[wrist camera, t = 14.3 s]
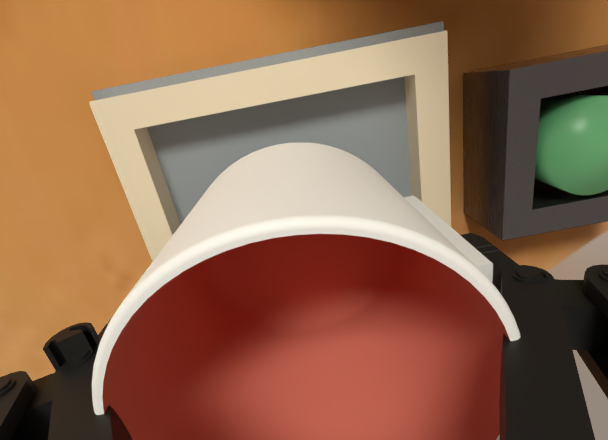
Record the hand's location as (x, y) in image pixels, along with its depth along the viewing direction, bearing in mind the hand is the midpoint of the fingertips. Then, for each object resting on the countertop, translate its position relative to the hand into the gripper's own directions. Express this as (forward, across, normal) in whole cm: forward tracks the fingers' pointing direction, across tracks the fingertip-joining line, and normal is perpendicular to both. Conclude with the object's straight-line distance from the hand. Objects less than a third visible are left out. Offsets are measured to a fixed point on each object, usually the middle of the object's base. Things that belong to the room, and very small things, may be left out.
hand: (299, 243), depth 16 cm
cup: (+1, 0, 0) cm, 1 cm away
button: (+3, +14, +2) cm, 15 cm away
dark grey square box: (+4, +14, +2) cm, 15 cm away
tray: (+4, 0, 0) cm, 4 cm away
